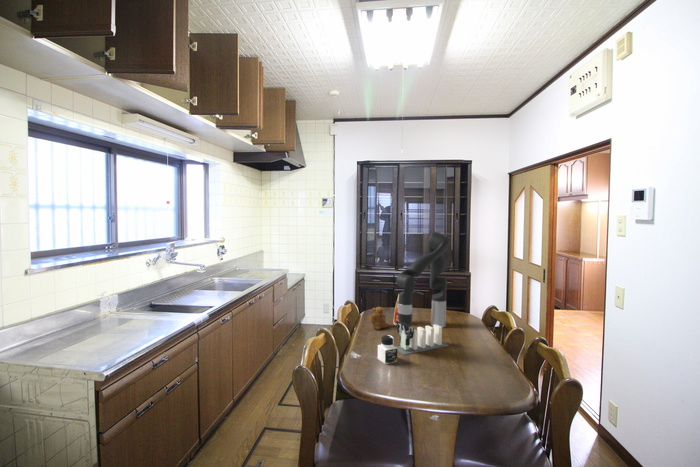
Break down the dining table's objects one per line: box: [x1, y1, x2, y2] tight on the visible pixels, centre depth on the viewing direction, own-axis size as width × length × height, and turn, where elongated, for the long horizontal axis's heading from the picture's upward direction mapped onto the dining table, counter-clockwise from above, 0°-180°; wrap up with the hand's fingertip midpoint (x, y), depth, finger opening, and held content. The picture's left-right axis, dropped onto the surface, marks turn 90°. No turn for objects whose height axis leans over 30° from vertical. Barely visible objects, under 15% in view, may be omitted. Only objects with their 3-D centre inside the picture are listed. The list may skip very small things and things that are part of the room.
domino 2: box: [409, 328, 418, 350], centre depth 169 cm, size 2×5×10 cm, turn 24°
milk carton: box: [392, 293, 399, 326], centre depth 212 cm, size 9×9×20 cm
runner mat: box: [396, 341, 450, 356], centre depth 171 cm, size 10×30×1 cm, turn 114°
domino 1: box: [400, 330, 409, 350], centre depth 167 cm, size 2×5×10 cm, turn 25°
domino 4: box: [424, 325, 434, 347], centre depth 174 cm, size 2×5×10 cm, turn 24°
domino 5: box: [432, 324, 443, 345], centre depth 176 cm, size 2×5×10 cm, turn 25°
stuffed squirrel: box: [368, 306, 390, 331], centre depth 203 cm, size 10×14×13 cm
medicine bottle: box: [377, 334, 398, 365], centre depth 154 cm, size 7×7×12 cm
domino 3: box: [416, 326, 426, 348], centre depth 171 cm, size 2×5×10 cm, turn 24°
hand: (404, 343), depth 167 cm, fingers closed on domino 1, 4 cm apart
